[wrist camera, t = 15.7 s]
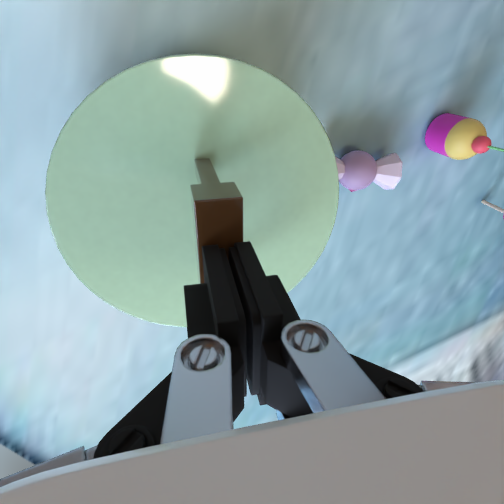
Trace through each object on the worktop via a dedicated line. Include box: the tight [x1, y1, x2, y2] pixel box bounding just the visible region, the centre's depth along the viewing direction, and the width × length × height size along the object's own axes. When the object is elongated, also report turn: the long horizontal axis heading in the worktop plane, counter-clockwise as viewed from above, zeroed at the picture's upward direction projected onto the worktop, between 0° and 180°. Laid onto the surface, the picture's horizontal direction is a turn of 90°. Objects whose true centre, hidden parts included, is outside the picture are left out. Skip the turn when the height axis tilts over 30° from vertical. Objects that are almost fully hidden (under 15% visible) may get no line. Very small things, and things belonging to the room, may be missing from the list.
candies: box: [335, 113, 504, 218], centre depth 26 cm, size 18×8×6 cm, turn 84°
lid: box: [45, 54, 339, 327], centre depth 15 cm, size 14×14×6 cm
